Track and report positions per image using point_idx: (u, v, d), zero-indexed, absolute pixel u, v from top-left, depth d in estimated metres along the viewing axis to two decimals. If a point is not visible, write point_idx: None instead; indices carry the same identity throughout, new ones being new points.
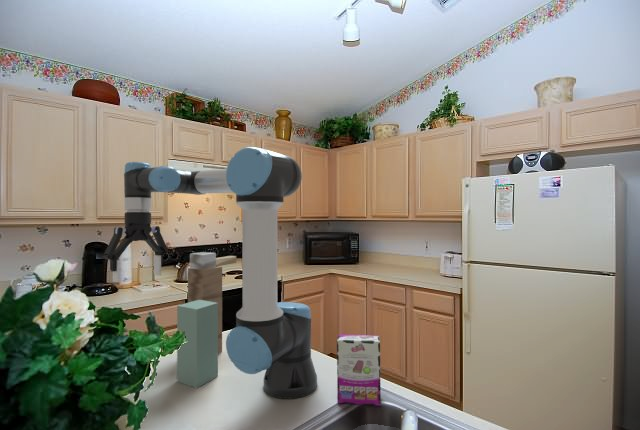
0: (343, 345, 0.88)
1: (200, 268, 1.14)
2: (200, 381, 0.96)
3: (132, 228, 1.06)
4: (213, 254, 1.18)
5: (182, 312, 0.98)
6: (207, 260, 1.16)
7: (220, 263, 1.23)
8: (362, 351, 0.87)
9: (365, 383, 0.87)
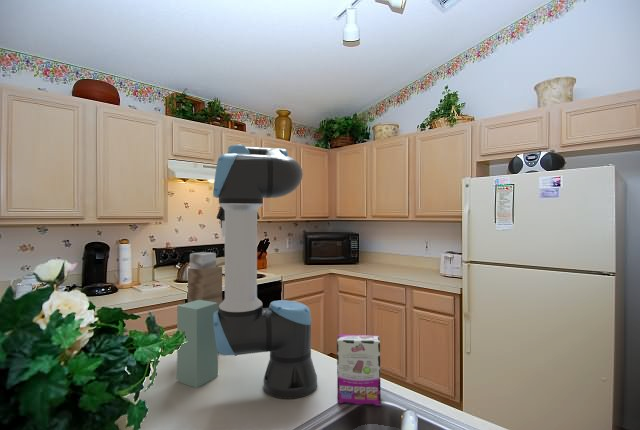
0: (343, 345, 0.88)
1: (200, 268, 1.14)
2: (200, 381, 0.96)
3: None
4: (213, 254, 1.18)
5: (182, 312, 0.98)
6: (207, 260, 1.16)
7: (220, 263, 1.23)
8: (362, 351, 0.87)
9: (365, 383, 0.87)
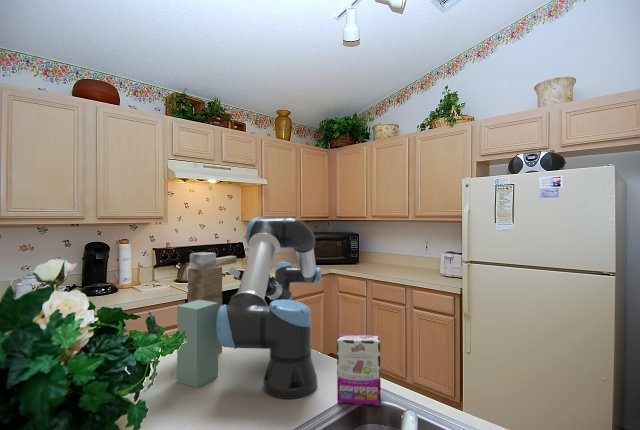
0: (343, 345, 0.88)
1: (200, 268, 1.14)
2: (200, 381, 0.96)
3: None
4: (213, 254, 1.18)
5: (182, 312, 0.98)
6: (207, 260, 1.16)
7: (220, 263, 1.23)
8: (362, 351, 0.87)
9: (365, 383, 0.87)
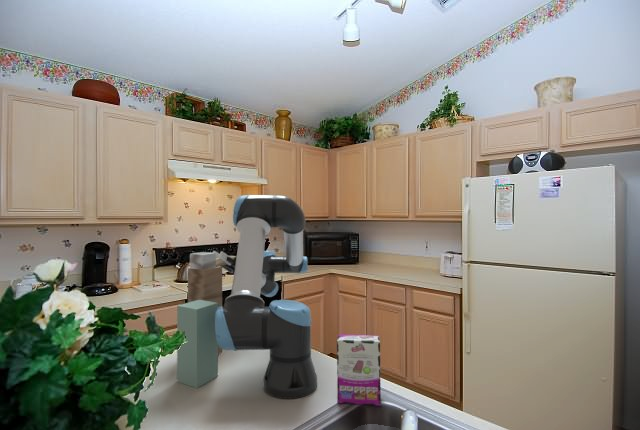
0: (343, 345, 0.88)
1: (200, 268, 1.14)
2: (200, 381, 0.96)
3: None
4: (213, 254, 1.18)
5: (182, 312, 0.98)
6: (207, 260, 1.16)
7: (220, 263, 1.23)
8: (362, 351, 0.87)
9: (365, 383, 0.87)
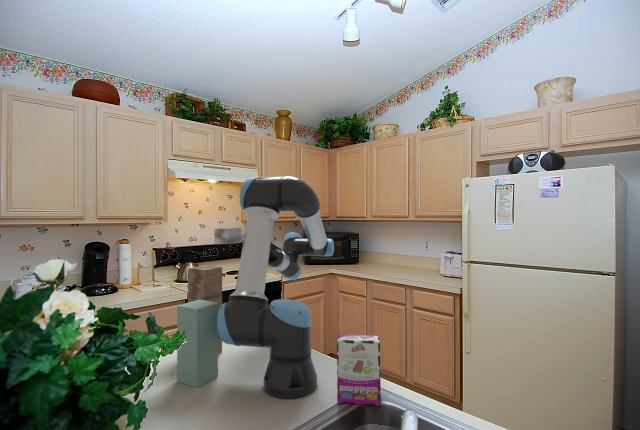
0: (343, 345, 0.88)
1: (226, 242, 1.09)
2: (200, 381, 0.96)
3: None
4: (238, 229, 1.13)
5: (182, 312, 0.98)
6: (232, 234, 1.11)
7: None
8: (362, 351, 0.87)
9: (365, 383, 0.87)
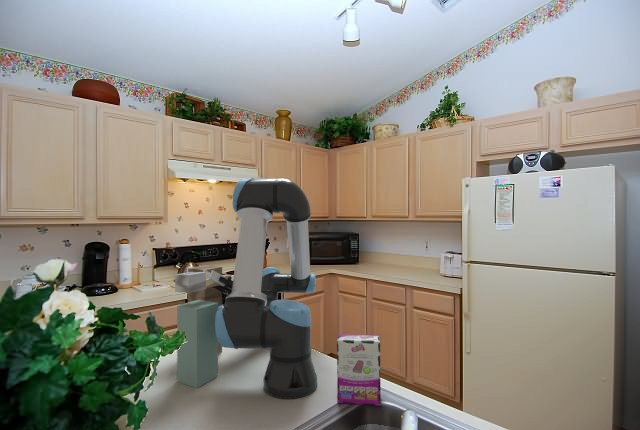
0: (343, 345, 0.88)
1: (187, 291, 0.97)
2: (200, 381, 0.96)
3: None
4: (202, 273, 1.01)
5: (182, 312, 0.98)
6: (195, 281, 0.98)
7: (211, 284, 1.05)
8: (362, 351, 0.87)
9: (365, 383, 0.87)
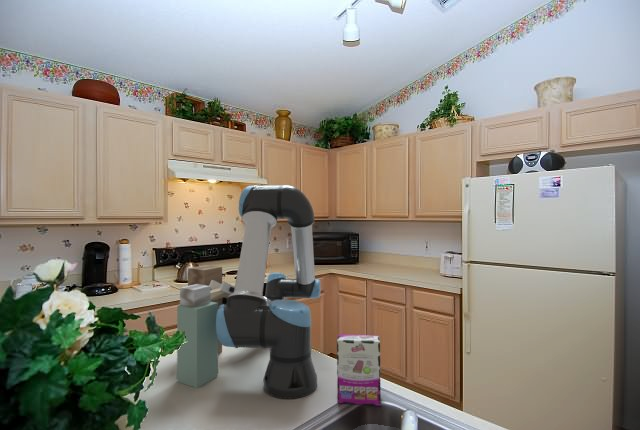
0: (343, 345, 0.88)
1: (191, 305, 0.98)
2: (200, 381, 0.96)
3: None
4: (207, 288, 1.01)
5: (182, 312, 0.98)
6: (199, 296, 0.99)
7: (215, 296, 1.06)
8: (362, 351, 0.87)
9: (365, 383, 0.87)
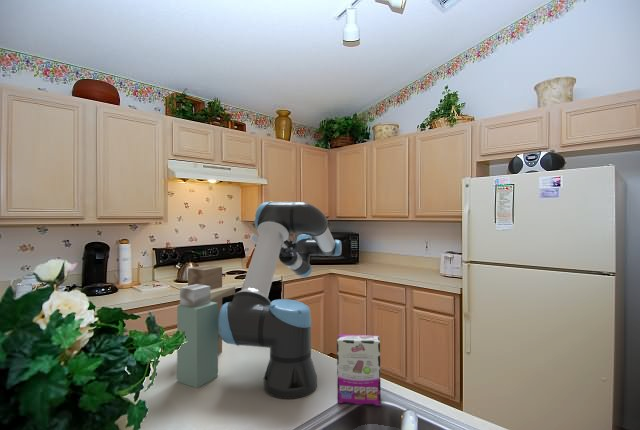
0: (343, 345, 0.88)
1: (191, 305, 0.98)
2: (200, 381, 0.96)
3: None
4: (207, 288, 1.01)
5: (182, 312, 0.98)
6: (199, 296, 0.99)
7: (215, 296, 1.06)
8: (362, 351, 0.87)
9: (365, 383, 0.87)
